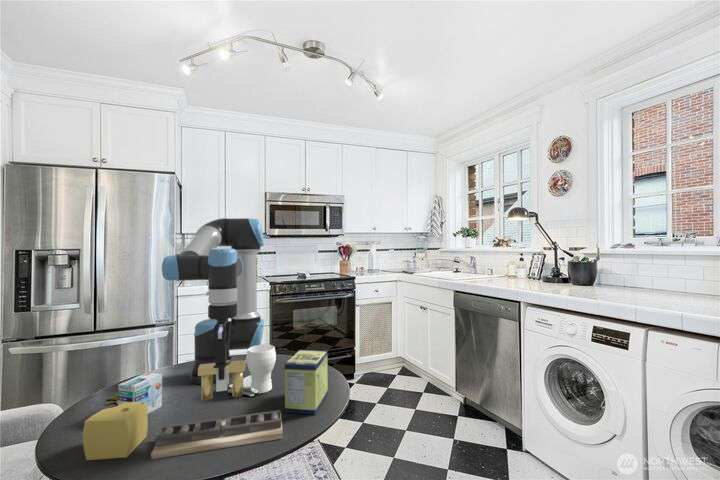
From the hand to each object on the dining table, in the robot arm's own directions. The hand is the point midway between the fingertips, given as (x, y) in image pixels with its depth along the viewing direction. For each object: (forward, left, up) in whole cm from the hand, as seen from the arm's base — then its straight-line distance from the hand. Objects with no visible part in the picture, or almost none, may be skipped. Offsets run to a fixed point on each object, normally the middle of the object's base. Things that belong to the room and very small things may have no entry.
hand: (222, 387), depth 94 cm
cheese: (-2, -26, -14) cm, 30 cm away
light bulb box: (-22, -27, -14) cm, 38 cm away
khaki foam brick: (0, 0, -3) cm, 3 cm away
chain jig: (0, 0, -14) cm, 14 cm away
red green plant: (-35, -36, -14) cm, 53 cm away
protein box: (-13, +25, -14) cm, 32 cm away
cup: (-29, +10, -14) cm, 34 cm away
